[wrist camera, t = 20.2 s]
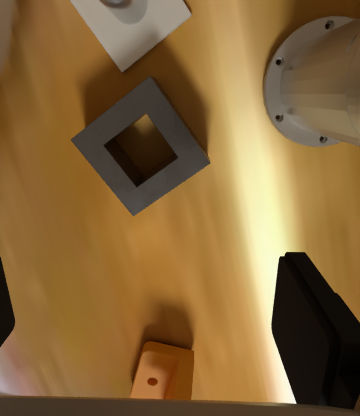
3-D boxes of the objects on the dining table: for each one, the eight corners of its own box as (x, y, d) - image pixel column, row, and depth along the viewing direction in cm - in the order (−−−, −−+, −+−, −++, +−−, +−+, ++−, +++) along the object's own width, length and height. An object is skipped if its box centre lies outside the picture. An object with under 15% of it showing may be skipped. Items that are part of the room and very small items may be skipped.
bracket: (146, 335, 45) (131, 415, 34) (193, 346, 46) (195, 428, 35) (131, 388, 49) (114, 475, 38) (175, 397, 50) (171, 486, 38)
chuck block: (155, 78, 33) (150, 75, 29) (207, 154, 36) (210, 163, 31) (86, 133, 36) (70, 139, 31) (140, 201, 38) (133, 216, 34)
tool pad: (136, -74, 29) (135, -77, 29) (191, 15, 31) (191, 14, 31) (65, -8, 31) (63, -9, 30) (122, 72, 33) (121, 72, 33)
